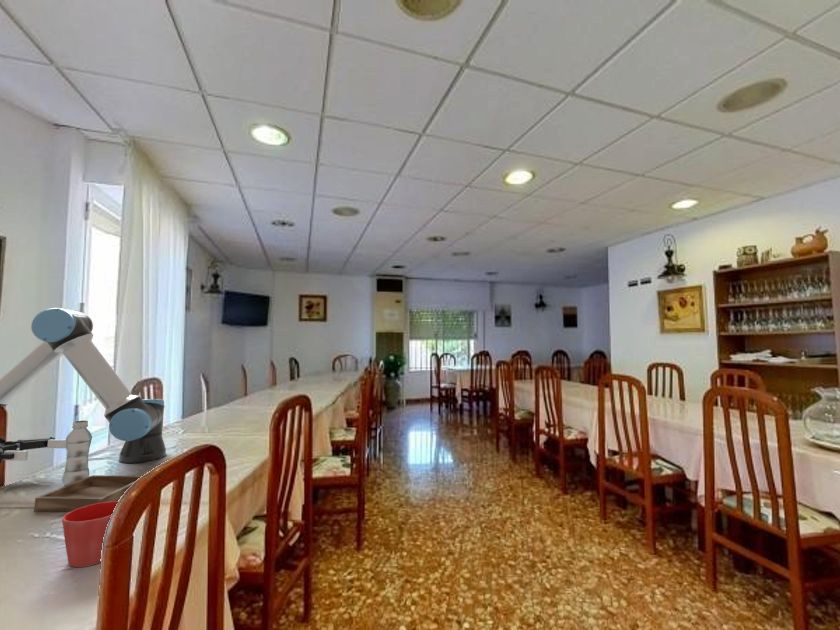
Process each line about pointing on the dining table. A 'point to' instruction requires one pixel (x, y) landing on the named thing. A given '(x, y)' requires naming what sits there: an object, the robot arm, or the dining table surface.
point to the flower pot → (86, 533)
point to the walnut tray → (84, 493)
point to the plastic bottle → (77, 453)
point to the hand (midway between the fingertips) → (48, 449)
